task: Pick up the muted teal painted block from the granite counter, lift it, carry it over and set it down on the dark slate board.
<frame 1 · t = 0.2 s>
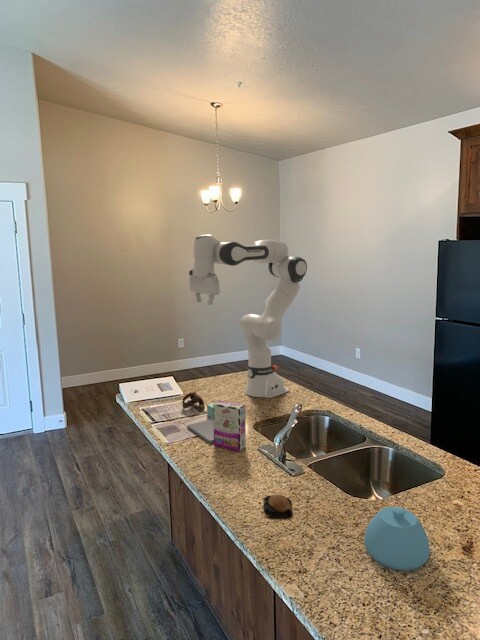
hand: (204, 303, 205), 47 cm above the worktop, tool pointing down, fingers open, 8 cm apart
slate board: (213, 431, 184), on the worktop
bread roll: (277, 510, 131), on the worktop
brown arched frame: (193, 408, 210), on the worktop
teal block: (215, 416, 200), on the worktop
sugar bowl: (395, 553, 113), on the worktop
candy bar box: (229, 447, 170), on the worktop
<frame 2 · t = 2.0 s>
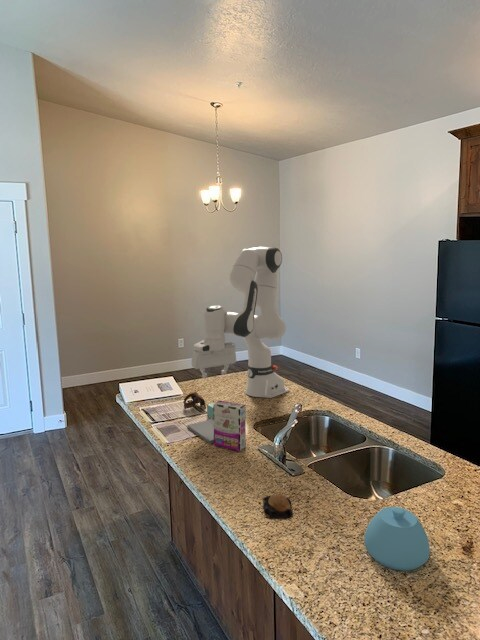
hand: (214, 376, 197), 18 cm above the worktop, tool pointing down, fingers open, 8 cm apart
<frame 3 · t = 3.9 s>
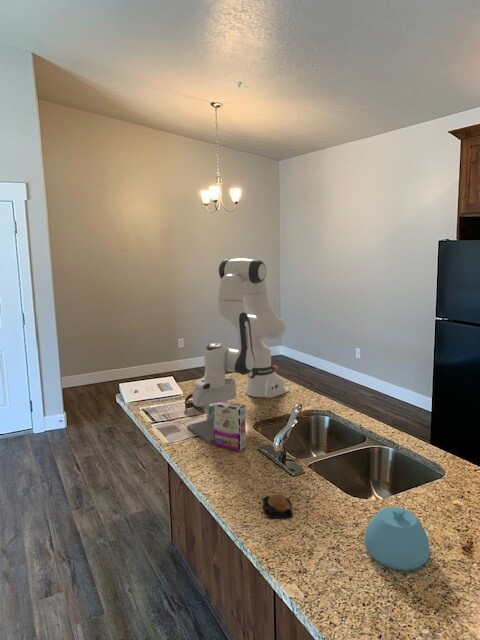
hand: (215, 412, 200), 2 cm above the worktop, tool pointing down, fingers closed on teal block, 5 cm apart
teal block: (215, 415, 200), on the worktop, touching gripper
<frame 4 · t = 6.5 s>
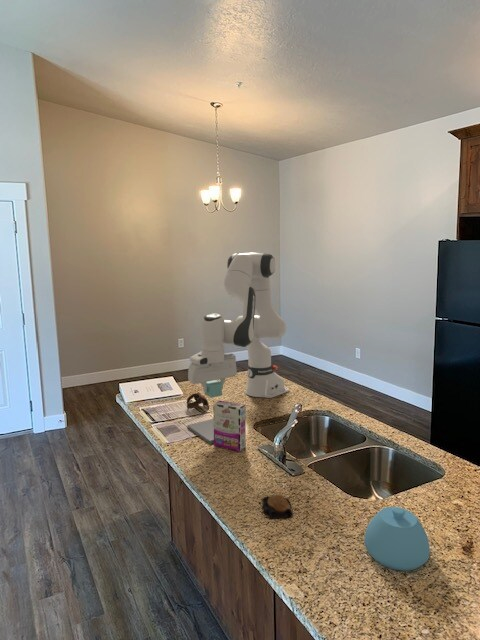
hand: (213, 390, 181), 17 cm above the worktop, tool pointing down, fingers closed on teal block, 5 cm apart
teal block: (213, 394, 181), point 15 cm above the worktop, touching gripper
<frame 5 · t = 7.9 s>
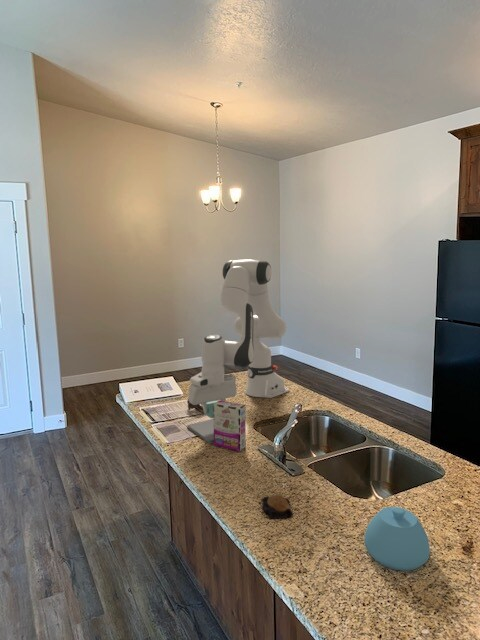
hand: (213, 411, 182), 9 cm above the worktop, tool pointing down, fingers closed on teal block, 5 cm apart
teal block: (213, 415, 182), point 7 cm above the worktop, touching gripper
when the fingers open (4 cm above the worktop, at t = 9.2 s): teal block drops 1 cm, resting on slate board.
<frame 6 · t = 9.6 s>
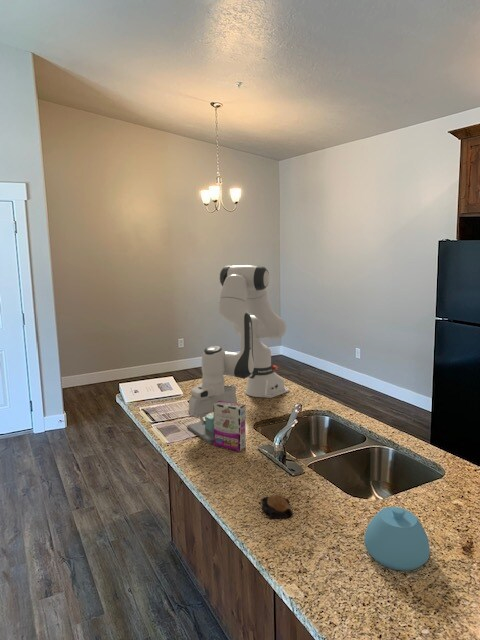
hand: (213, 421, 183), 4 cm above the worktop, tool pointing down, fingers open, 8 cm apart
teal block: (213, 428, 184), point 1 cm above the worktop, touching slate board
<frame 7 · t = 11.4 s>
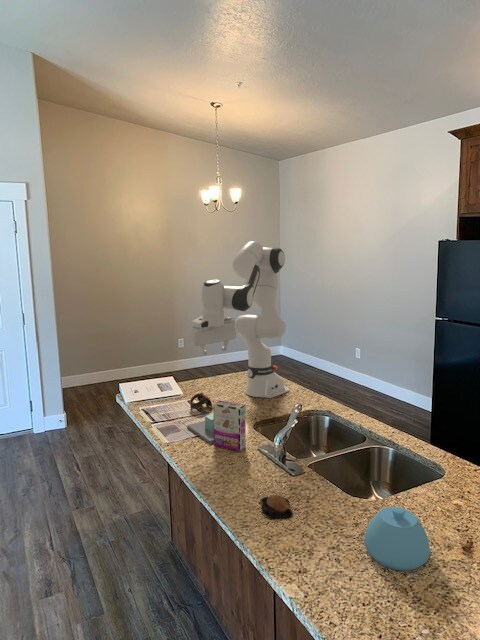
hand: (214, 352, 191), 29 cm above the worktop, tool pointing down, fingers open, 8 cm apart
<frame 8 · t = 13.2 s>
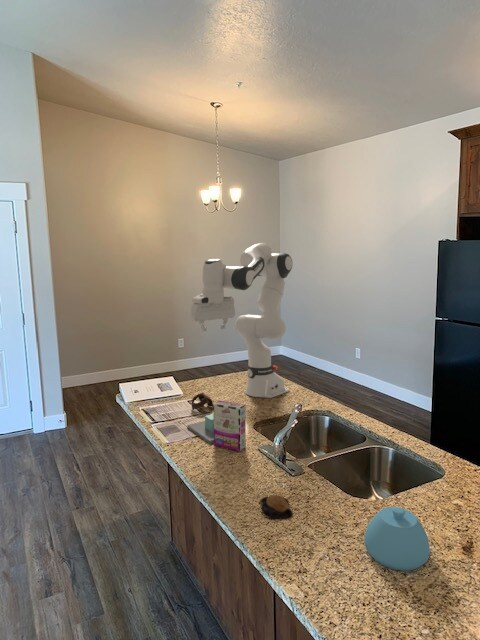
hand: (213, 329, 198), 37 cm above the worktop, tool pointing down, fingers open, 8 cm apart
at the end: teal block inside the target area on the slate board (0.1 cm from its centre), point 1.2 cm above the slate board's base; teal block tilted 0°; the gripper is holding nothing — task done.
